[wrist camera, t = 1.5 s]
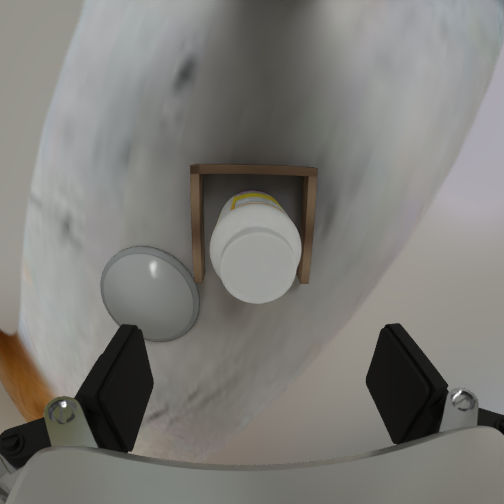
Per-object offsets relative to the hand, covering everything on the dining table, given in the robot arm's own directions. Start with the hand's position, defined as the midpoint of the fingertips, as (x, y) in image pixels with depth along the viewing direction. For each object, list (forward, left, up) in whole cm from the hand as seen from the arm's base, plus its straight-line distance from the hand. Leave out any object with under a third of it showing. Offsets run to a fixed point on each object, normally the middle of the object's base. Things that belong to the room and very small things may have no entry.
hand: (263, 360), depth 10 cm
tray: (+9, -12, -20) cm, 25 cm away
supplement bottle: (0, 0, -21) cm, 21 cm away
